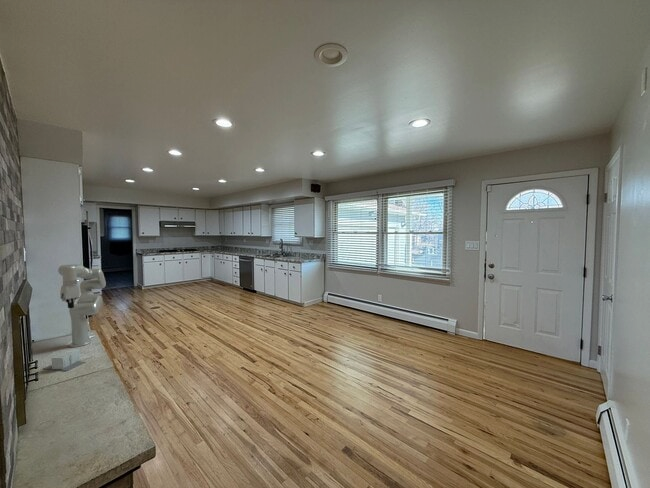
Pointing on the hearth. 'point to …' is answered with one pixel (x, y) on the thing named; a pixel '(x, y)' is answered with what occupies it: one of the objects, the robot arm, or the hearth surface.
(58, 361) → the supplement box
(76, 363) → the mat
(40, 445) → the hearth surface
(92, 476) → the hearth surface
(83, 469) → the hearth surface
